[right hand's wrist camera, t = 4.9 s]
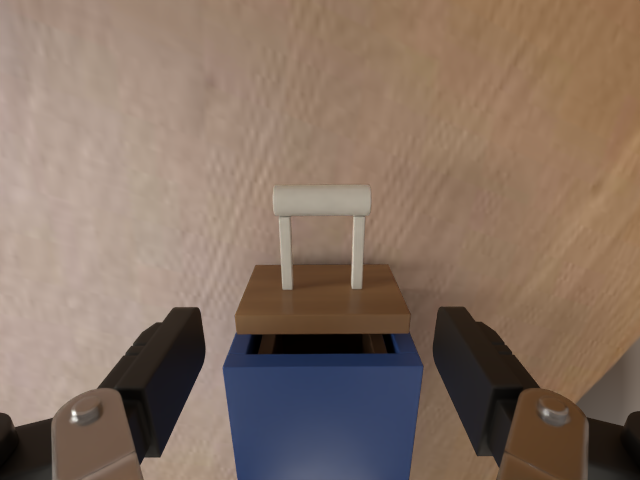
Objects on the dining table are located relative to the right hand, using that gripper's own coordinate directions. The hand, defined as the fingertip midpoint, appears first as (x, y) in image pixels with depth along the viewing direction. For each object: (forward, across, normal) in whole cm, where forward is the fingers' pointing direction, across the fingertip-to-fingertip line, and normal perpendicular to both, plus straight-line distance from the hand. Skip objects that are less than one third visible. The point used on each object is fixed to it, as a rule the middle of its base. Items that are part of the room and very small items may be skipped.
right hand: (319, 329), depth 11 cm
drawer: (+11, 0, -9) cm, 14 cm away
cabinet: (+12, 0, -15) cm, 19 cm away
